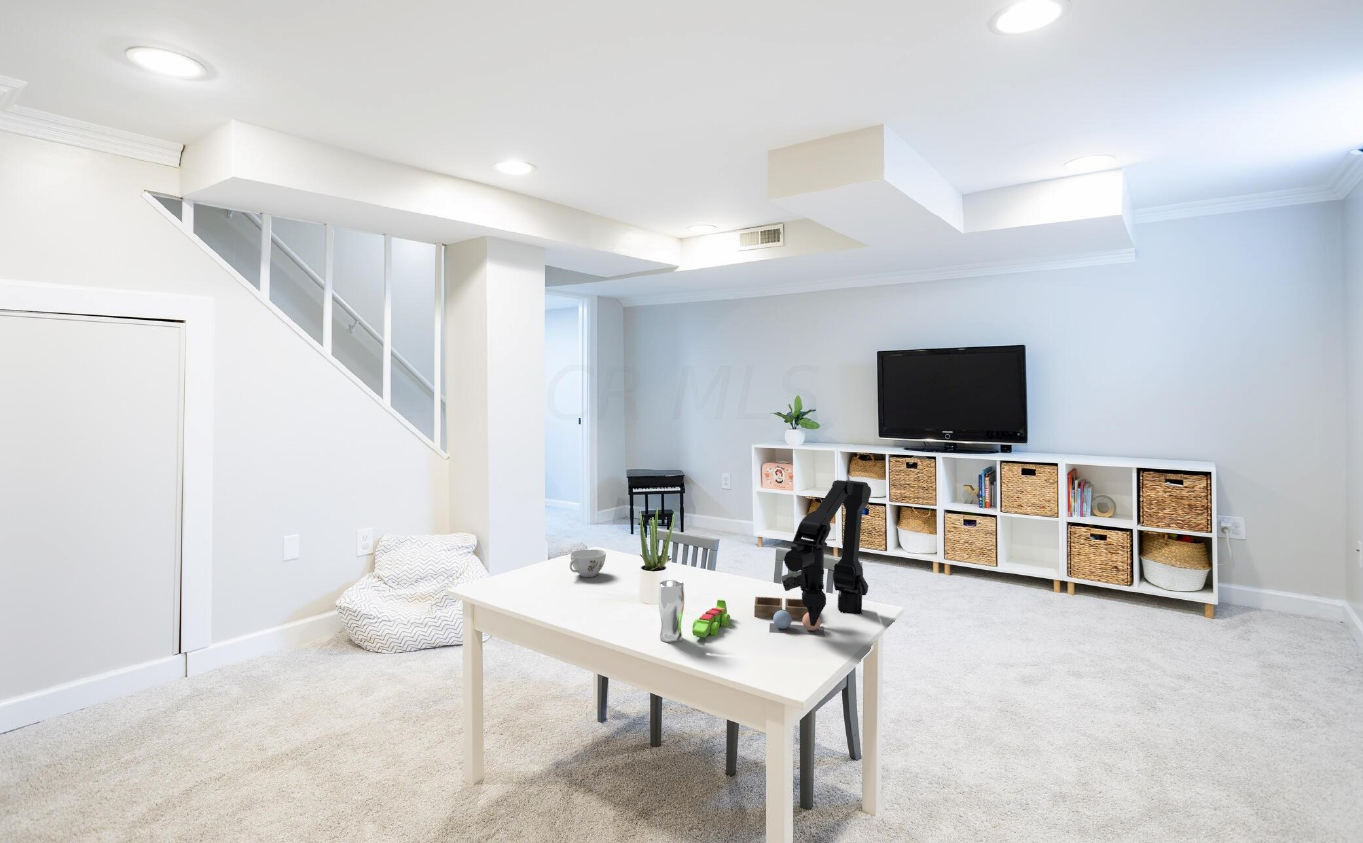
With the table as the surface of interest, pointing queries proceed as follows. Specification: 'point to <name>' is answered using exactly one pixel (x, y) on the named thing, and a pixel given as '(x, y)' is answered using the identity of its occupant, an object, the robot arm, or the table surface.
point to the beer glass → (671, 610)
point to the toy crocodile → (711, 620)
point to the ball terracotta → (807, 623)
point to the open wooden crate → (767, 606)
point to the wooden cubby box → (795, 608)
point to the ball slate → (782, 619)
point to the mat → (796, 630)
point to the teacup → (587, 562)
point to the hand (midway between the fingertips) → (811, 619)
